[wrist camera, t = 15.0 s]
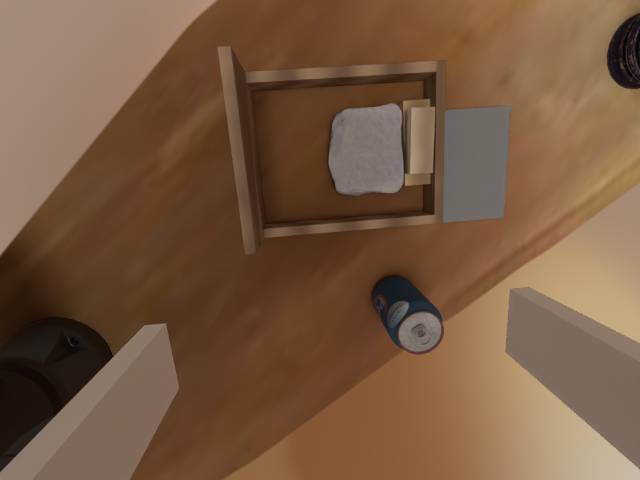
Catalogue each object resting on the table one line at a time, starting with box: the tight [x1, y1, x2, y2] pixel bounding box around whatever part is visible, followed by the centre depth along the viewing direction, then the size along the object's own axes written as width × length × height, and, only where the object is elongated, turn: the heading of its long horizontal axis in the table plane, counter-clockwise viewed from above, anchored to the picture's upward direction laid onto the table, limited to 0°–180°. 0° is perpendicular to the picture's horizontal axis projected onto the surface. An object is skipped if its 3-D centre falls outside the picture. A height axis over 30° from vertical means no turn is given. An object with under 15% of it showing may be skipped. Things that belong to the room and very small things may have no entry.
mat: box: [443, 106, 511, 223], centre depth 45 cm, size 11×16×1 cm
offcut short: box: [404, 107, 435, 174], centre depth 40 cm, size 3×8×2 cm, turn 2°
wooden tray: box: [218, 46, 446, 255], centre depth 38 cm, size 26×20×12 cm
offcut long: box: [397, 99, 430, 186], centre depth 43 cm, size 4×11×3 cm, turn 5°
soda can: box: [373, 277, 444, 354], centre depth 43 cm, size 7×7×12 cm
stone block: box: [329, 103, 404, 196], centre depth 42 cm, size 12×5×10 cm
